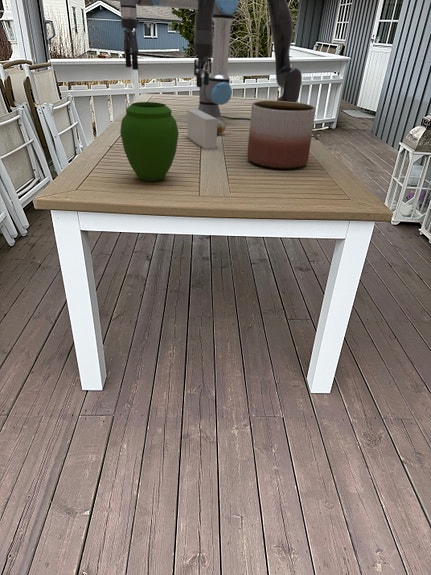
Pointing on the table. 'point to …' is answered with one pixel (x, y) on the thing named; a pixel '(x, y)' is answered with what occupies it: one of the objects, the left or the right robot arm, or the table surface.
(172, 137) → the vase
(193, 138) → the box
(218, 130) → the seashell
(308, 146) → the planter
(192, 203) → the table surface
